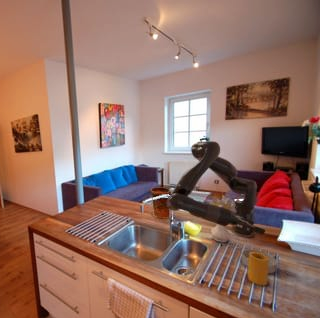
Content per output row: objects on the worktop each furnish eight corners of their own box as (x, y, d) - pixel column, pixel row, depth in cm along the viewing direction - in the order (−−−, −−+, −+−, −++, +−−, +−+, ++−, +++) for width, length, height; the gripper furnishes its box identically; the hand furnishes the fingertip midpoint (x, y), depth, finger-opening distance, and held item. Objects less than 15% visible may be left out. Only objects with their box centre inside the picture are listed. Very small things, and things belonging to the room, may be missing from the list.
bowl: (235, 256, 100) (235, 249, 99) (262, 257, 98) (263, 249, 98) (252, 273, 88) (253, 265, 88) (284, 274, 86) (284, 265, 86)
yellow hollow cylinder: (244, 274, 88) (245, 251, 86) (259, 275, 87) (261, 251, 85) (254, 285, 82) (256, 260, 80) (271, 285, 81) (272, 260, 79)
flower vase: (207, 245, 111) (207, 202, 107) (208, 230, 126) (208, 192, 122) (236, 252, 103) (238, 205, 100) (234, 235, 118) (235, 194, 115)
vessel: (150, 218, 148) (149, 192, 146) (151, 210, 161) (151, 186, 159) (171, 220, 143) (171, 193, 140) (171, 212, 156) (170, 187, 153)
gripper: (224, 211, 80) (272, 226, 76) (213, 201, 94) (253, 213, 89) (218, 228, 82) (264, 244, 77) (207, 216, 95) (246, 228, 91)
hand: (258, 227), depth 83 cm, fingers open, 8 cm apart
